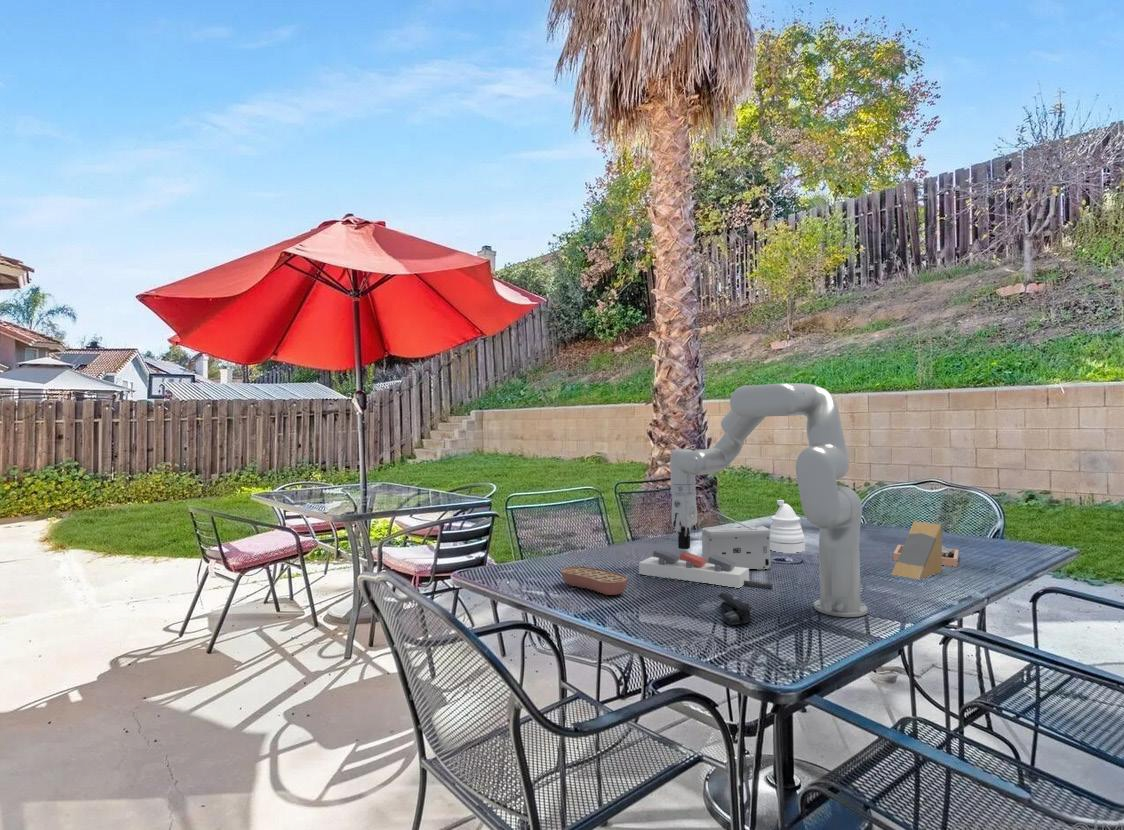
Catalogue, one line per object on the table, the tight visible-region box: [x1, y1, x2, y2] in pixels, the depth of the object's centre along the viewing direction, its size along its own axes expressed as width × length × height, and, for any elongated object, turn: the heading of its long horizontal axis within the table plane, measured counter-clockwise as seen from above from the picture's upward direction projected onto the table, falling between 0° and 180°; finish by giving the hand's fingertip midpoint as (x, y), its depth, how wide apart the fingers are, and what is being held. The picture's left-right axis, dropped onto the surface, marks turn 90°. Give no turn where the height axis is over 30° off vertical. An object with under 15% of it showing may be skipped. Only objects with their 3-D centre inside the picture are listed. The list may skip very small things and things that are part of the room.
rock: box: [942, 545, 954, 558], centre depth 214 cm, size 13×10×5 cm
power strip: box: [638, 556, 774, 589], centre depth 195 cm, size 9×40×6 cm, turn 57°
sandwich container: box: [891, 520, 943, 580], centre depth 196 cm, size 9×15×15 cm, turn 125°
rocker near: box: [708, 554, 735, 571], centre depth 192 cm, size 4×7×2 cm, turn 57°
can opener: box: [718, 592, 753, 626], centre depth 161 cm, size 18×7×6 cm, turn 1°
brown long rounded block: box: [560, 565, 628, 596], centre depth 187 cm, size 23×10×5 cm, turn 44°
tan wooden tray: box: [892, 544, 959, 568], centre depth 214 cm, size 15×18×2 cm
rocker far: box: [652, 548, 680, 564], centre depth 202 cm, size 4×7×2 cm, turn 57°
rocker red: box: [679, 551, 707, 567], centre depth 197 cm, size 4×7×2 cm, turn 57°
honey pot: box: [769, 499, 806, 554], centre depth 233 cm, size 13×13×18 cm
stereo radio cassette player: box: [701, 508, 771, 570], centre depth 207 cm, size 21×8×20 cm, turn 92°
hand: (684, 548), depth 198 cm, fingers closed
